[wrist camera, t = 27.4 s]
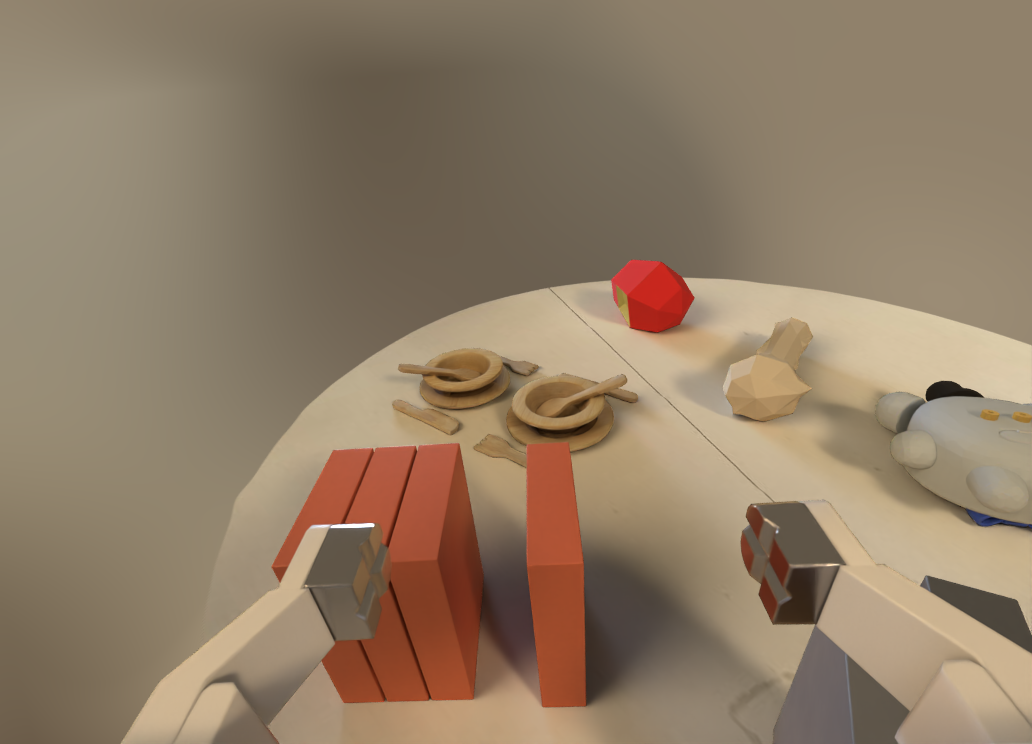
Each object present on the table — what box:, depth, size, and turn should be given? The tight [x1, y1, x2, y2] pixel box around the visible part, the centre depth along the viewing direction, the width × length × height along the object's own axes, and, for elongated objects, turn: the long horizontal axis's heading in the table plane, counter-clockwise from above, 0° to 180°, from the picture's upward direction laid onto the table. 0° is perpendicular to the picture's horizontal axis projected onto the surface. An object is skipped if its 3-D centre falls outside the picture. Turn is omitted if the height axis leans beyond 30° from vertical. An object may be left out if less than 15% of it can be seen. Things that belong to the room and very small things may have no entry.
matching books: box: [272, 443, 484, 703], centre depth 34 cm, size 10×9×15 cm
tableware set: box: [392, 348, 638, 468], centre depth 63 cm, size 30×20×6 cm, turn 53°
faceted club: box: [723, 317, 813, 422], centre depth 62 cm, size 9×8×25 cm
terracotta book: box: [527, 442, 586, 707], centre depth 33 cm, size 10×3×15 cm, turn 179°
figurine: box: [875, 381, 1032, 528], centre depth 46 cm, size 17×8×20 cm
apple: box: [611, 260, 694, 332], centre depth 80 cm, size 12×12×15 cm
